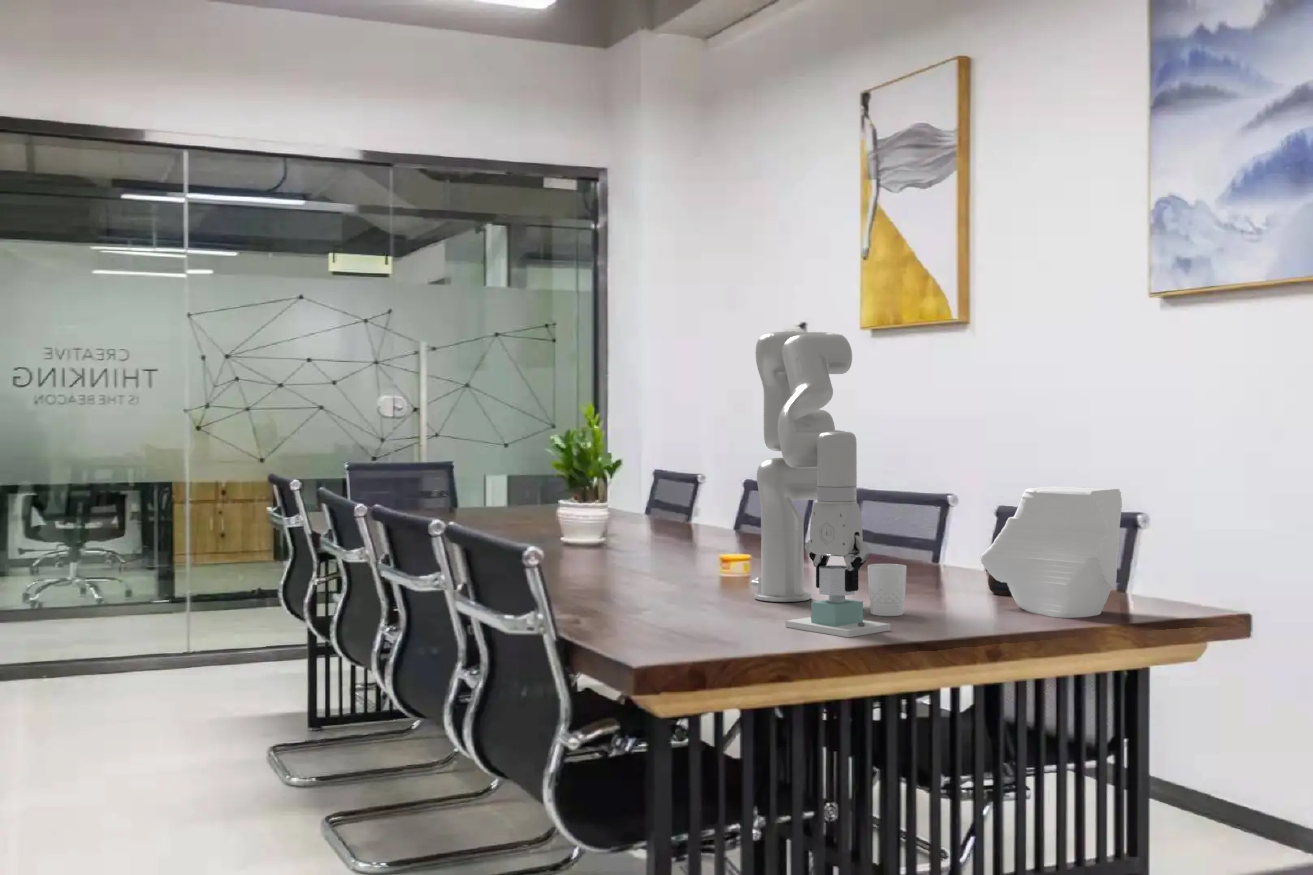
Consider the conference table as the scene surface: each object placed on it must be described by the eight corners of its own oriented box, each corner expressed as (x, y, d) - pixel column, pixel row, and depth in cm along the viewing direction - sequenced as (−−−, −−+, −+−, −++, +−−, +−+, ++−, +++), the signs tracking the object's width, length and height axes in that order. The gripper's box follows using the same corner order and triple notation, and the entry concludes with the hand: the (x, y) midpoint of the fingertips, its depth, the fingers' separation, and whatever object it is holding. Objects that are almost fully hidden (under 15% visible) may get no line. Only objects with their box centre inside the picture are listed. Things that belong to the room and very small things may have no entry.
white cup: (880, 617, 258) (880, 568, 258) (860, 612, 266) (860, 564, 266) (914, 615, 261) (914, 566, 261) (893, 610, 269) (893, 562, 269)
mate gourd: (1020, 592, 296) (1020, 549, 296) (1021, 596, 289) (1021, 552, 289) (988, 591, 298) (988, 548, 298) (988, 595, 291) (988, 552, 290)
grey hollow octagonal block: (812, 592, 245) (812, 566, 245) (835, 590, 249) (835, 564, 249) (838, 596, 240) (838, 569, 240) (861, 593, 244) (861, 567, 244)
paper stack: (1079, 622, 252) (1079, 492, 252) (976, 606, 274) (976, 486, 274) (1147, 613, 263) (1147, 488, 263) (1042, 598, 286) (1042, 483, 286)
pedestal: (785, 626, 247) (785, 570, 247) (827, 620, 255) (827, 565, 255) (847, 637, 235) (847, 577, 235) (890, 630, 242) (890, 572, 242)
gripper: (790, 494, 249) (790, 586, 249) (858, 498, 235) (858, 595, 236) (816, 493, 254) (816, 583, 254) (884, 497, 240) (885, 591, 240)
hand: (837, 588), depth 245 cm, fingers closed on grey hollow octagonal block, 6 cm apart
